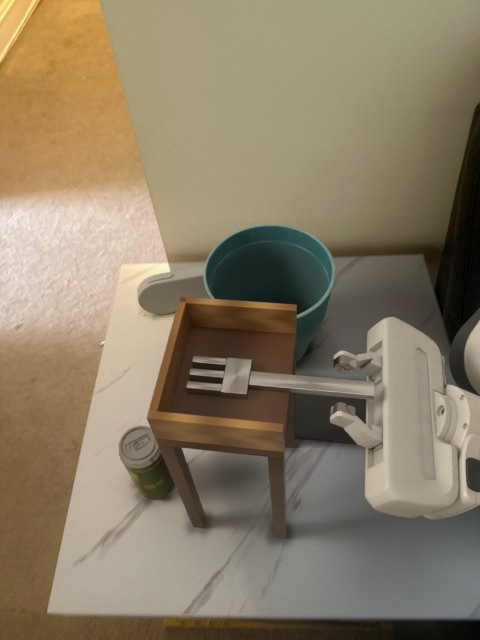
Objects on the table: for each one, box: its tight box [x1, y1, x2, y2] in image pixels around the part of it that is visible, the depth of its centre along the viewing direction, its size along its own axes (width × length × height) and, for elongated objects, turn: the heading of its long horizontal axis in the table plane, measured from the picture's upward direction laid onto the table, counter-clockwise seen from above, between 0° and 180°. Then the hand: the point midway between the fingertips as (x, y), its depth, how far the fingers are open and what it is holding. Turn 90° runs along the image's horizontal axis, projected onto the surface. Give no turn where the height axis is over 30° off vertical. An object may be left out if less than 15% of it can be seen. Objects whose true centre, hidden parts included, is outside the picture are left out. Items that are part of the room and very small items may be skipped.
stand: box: [146, 297, 297, 540], centre depth 64 cm, size 12×14×30 cm
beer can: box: [118, 424, 175, 500], centre depth 72 cm, size 5×5×12 cm
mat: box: [295, 393, 366, 445], centre depth 82 cm, size 22×10×1 cm, turn 82°
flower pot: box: [203, 223, 337, 363], centre depth 83 cm, size 18×18×17 cm
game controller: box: [136, 265, 210, 315], centre depth 93 cm, size 20×2×8 cm, turn 100°
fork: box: [186, 356, 375, 400], centre depth 55 cm, size 18×4×1 cm, turn 82°
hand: (334, 384), depth 54 cm, fingers open, 4 cm apart
